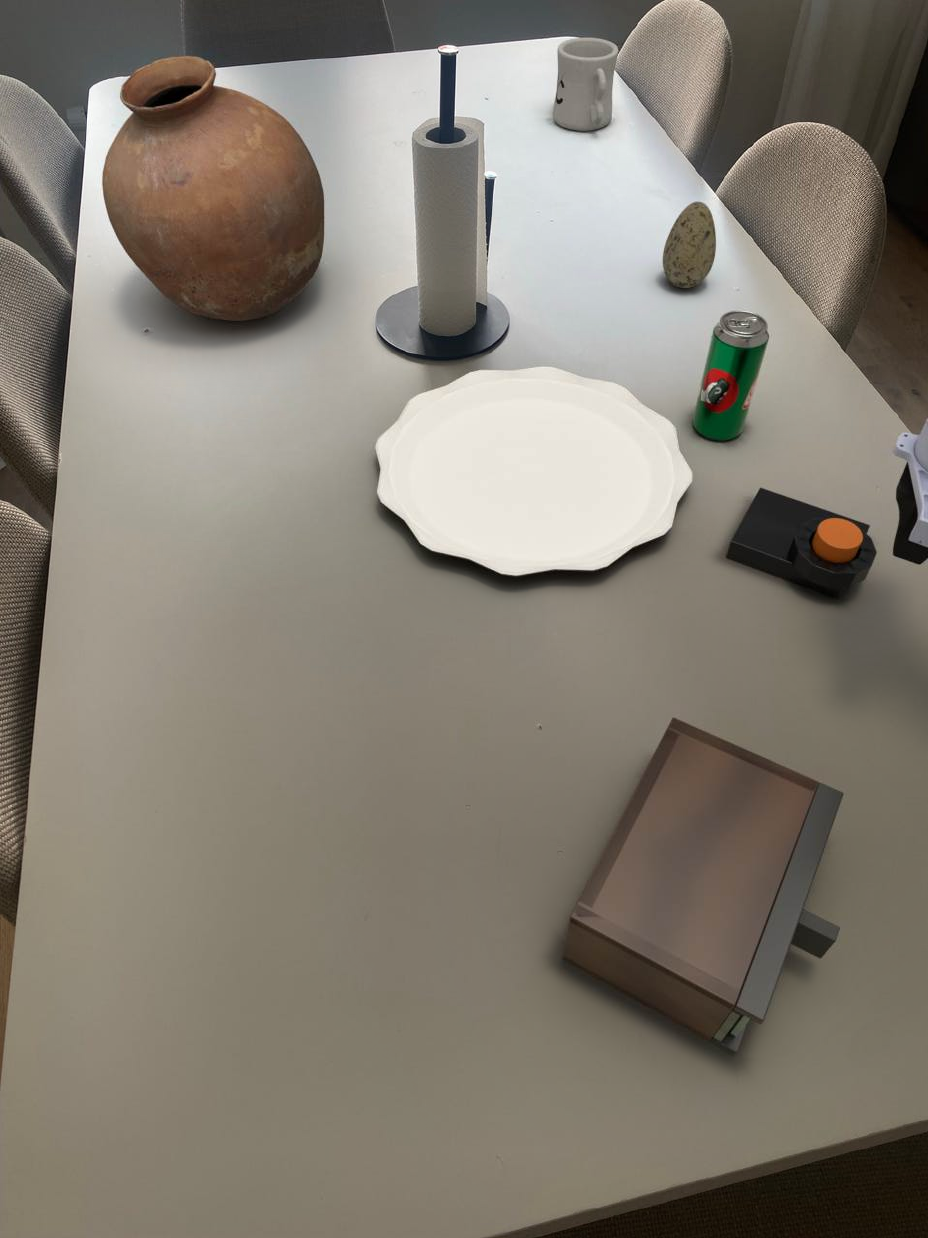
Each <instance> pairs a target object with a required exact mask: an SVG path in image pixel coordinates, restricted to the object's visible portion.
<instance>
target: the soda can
mask: <svg viewBox="0 0 928 1238" xmlns="http://www.w3.org/2000/svg"><path fill="white" fill-rule="evenodd" d="M768 327H769V326H768V322H767V320H766V318H764V317H763V316H762V315H760V314H758V313H755V312H752V311H749V310H731V311H728V312H725V313H724V314H723V315H721V316H720V318H719V321H718V322H717V323H716V324H715V325H714V326H713V330H712V335H711V338H710V341H709V342H710V343H709V347H708V351H707V356H706V360H705V363H704V364H705V365H704V369H703V374H702V377H701V381H700V385H699V389H698V395H697V399H696V403H695V407H694V412H693V416H692V425H693V427H694V429H695V431H697V432H698V434H699V435H701V436H702V437H703V438H705V439H708V440H711V441H716V442H724V441H730V440H732V439H734V438H736V437H737V436H739V435H741V434H742V432H743V430H744V428H745V423H746V421H747V417H748V413H749V410H750V406H751V403H752V399H753V396H754V392H755V389H756V385H757V381H758V379H759V374H760V371H761V367H762V364H763V361H764V357H765V354H766V350H767V347H768V344H769V340H770V334H769V332H768Z"/></svg>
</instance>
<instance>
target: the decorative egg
mask: <svg viewBox="0 0 928 1238" xmlns="http://www.w3.org/2000/svg"><path fill="white" fill-rule="evenodd" d="M716 250H717V233H716V226H715V220H714V217H713V214H712V211H711V210H710V208H709V206H708V205H707V204H706V203H704V202H702V201H694V202H692V203H689V204H688V205H687V206H686V207H685V208H683V210H682V211H681V213H680V214H679V215H678V216H677V218H676V220H675V221H674V223H673V225H672V227H671V229H670V231H669V233H668V236H667V238H666V241H665V244H664V248H663V252H662V269H663V272H664V275H665V276H666V279H667V280H668V281H669V282H670V283H671V284H672V285H673V286H675V287H677V288H681V289H690V288H694V287H696V286H698V285H699V284H701V283H702V282H703V281H704V280H706V278H707V276H708V275H709V274H710V272H711V270H712V268H713V266H714V263H715V258H716V253H717V252H716Z"/></svg>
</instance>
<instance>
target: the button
mask: <svg viewBox="0 0 928 1238" xmlns="http://www.w3.org/2000/svg"><path fill="white" fill-rule="evenodd" d="M862 540H863V535H862V532H861V530H860V529H859V528H858V527H857V526H856V525H855V524H853V523H852V522H850V521H847V520H844V519H840V518H830V519H826V520H824V521H822V522H821V523H820V524H819V526H818V528H817V531H816V533H815V536H814V538H813V541H812V547H813V550H814V551H815V553H816V554H817V555H818V556H820V557H821V558H823V559H825V560H828V561H831V562H834V563H846V562H849V561H851V560H852V559H853V558H854V557H855V555H856V553H857V551H858V549H859V547H860V545H861V543H862Z"/></svg>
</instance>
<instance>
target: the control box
mask: <svg viewBox="0 0 928 1238" xmlns="http://www.w3.org/2000/svg"><path fill="white" fill-rule="evenodd" d="M830 518H840V519H844V520H847V521H850V522H852V523H853V524H855V525H856V526H857V527H858V528H859V529H860V530H861V532H862V535H863V540H862V543H861V545H860V547H859V549H858V551H857V553H856V555H855V557H854V558H853V559H852V560H851V561H849V562H846V563H834V562H831V561H828V560H825V559H823V558H821V557H820V556H818V555H817V554H816V553H815V551H814V550H813V547H812V541H813V538H814V536H815V533H816V531H817V528H818V526H819V524H820V523H821V522H822V521H824V520H826V519H830ZM870 527H871V525H870V524H868V523H866V522H862V521H860V520H856V519H854V518H851V517H848V516H845V515H842V514H840V513H836V512H833V511H830V510H827V509H824V508H821V507H818V506H815V505H813V504H810V503H807V502H805V501H801V500H798V499H796V498H792V497H789V496H787V495H784V494H781V493H778V492H775V491H772V490H769V489H766V488H763V487H760V488H759V489H758V491H757V493H756V494H755V496H754V498H753V499H752V501H751V504H750V505H749V507H748V509H747V510H746V512H745V514H744V516H743V517H742V519H741V521H740V524H739V525H738V526H737V528H736V531H735V532H734V534H733V536H732V538H731V540H730V542H729V544H728V549H727V551H726V554H725V558H726V559H727V560H730V561H733V562H736V563H738V564H741V565H744V566H747V567H749V568H752V569H754V570H757V571H760V572H762V573H765V574H768V575H770V576H774V577H776V578H778V579H781V580H783V581H787V582H789V583H791V584H794V585H797V586H799V587H802V588H805V589H807V590H810V591H813V592H815V593H816V592H817V593H818V594H821V595H824V596H827V597H829V598H831V599H834V600H836V601H837V600H839V599H840V598H841V595H842V593H843V591H844V588H845V589H849V588H852V587H855V586H856V585H857V584H859V583H861V582H863V581H865V580H866V579H867V577H868V575H869V572H870V570H871V568H872V566H873V564H874V561H875V559H876V556H877V554H878V551H877V549H876V547H875V544H874V542H873V539H872V537H871V536H870V535H869V534H868V532H869V530H870Z"/></svg>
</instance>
